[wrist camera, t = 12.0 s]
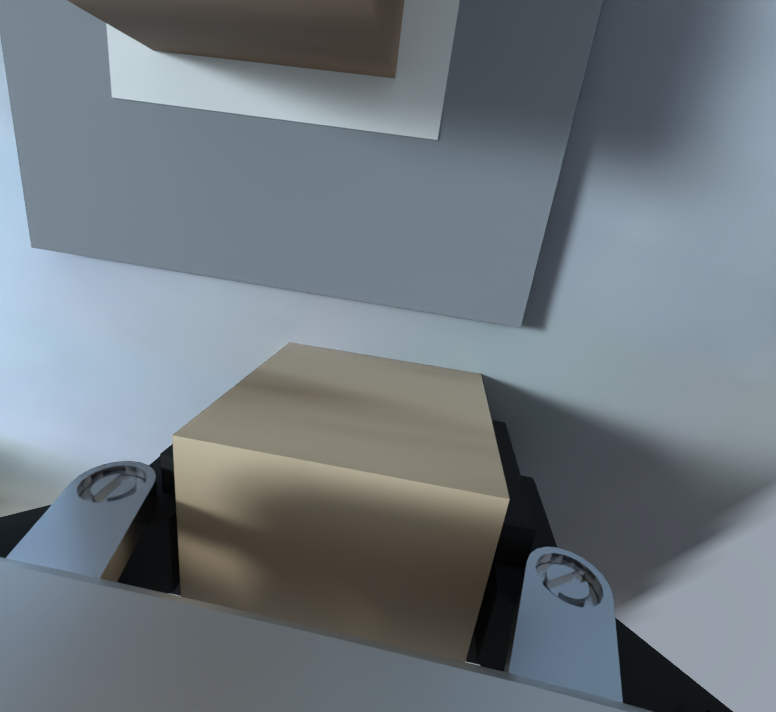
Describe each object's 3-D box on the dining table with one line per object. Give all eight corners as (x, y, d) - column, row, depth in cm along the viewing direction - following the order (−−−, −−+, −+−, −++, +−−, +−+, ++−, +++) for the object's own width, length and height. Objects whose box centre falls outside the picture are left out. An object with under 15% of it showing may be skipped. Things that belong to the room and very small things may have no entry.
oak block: (446, 529, 12) (447, 727, 7) (282, 497, 12) (184, 665, 8) (480, 372, 10) (510, 499, 6) (290, 341, 11) (172, 434, 6)
